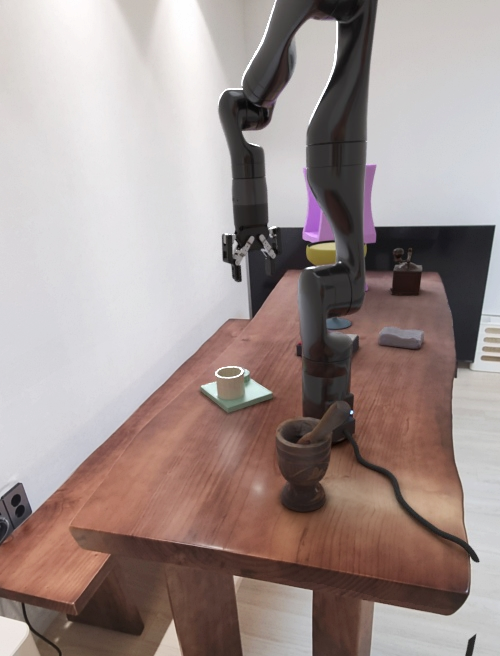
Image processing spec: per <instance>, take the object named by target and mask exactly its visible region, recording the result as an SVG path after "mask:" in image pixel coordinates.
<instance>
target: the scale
mask: <svg viewBox="0 0 500 656" xmlns="http://www.w3.org/2000/svg"><path fill="white" fill-rule="evenodd" d="M243 372H244V384H245V394H244V395H243V396H242V397H241V398H238V399H234V400H225V399H221V398H219V397H218V394H217V386H216V380H215V381H212V382H209V383H205V384H202V385H200V386H199V388H200V392H201V393H202V394H204V395H205V396H206V397H208V398H209V399H210V400H211V401H213V403H215V404H216V405H218V407H220V408H221V409H222V410H223V411H225V412H226V413H227V414H230V413H233V412H235V411H239V410H241V409H245V408H247V407H250V406H253V405H257V404H260V403H261V402H264V401H268V400H271V399H273V398H274V393H273V391H271V390H269V389H268V388H266V387H264V386H263V385H261V384H260V383H258V382H257V381H255V380H254V379H252V378H251V376H250V374H251V373H250V371H249V370H248V369H246V368H243Z"/></svg>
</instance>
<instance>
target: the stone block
mask: <svg viewBox="0 0 500 656" xmlns="http://www.w3.org/2000/svg"><path fill="white" fill-rule="evenodd" d="M424 339H425V331H423V330H421V329H414V328H412V329H411V328H410V329H409V328H408V329H402V328H398V327H395V326H389V325H388V326H387V325H386V326H385V327H383V328H382V329H381V330H380V331H379V334H378V344H379V345H380V346H385V347H393V348H394V347H395V348H403V349H409V350H419V349H420V348H421V347H422V344H423V342H424Z"/></svg>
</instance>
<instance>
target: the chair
mask: <svg viewBox="0 0 500 656" xmlns="http://www.w3.org/2000/svg"><path fill="white" fill-rule="evenodd" d="M376 170H377V164H375V163H366V174H365V189H364V243H366V244H375V243H376V244H377V242H376V241H377V231H376V228H375V223H374V217H373V211H372V192H373V186H374V180H375V174H376ZM302 173H303V177H304V182H305V187H306V193H307V195H306V196H307V207H306V209H307V210H306V216H305V221H304V224H303V229H302V240H304V241H307V242H310V243H314V242H319V241H327V240H334V235H333V232H332V229H331V226H330V224H329V222H328V220H327V218H326V217H325V215H324V213H323V212H322V210H321V208H320V207H319V205H318V203H317V202H316V200H315V198H314V196H313V194H312V192H311V190H310V188H309V185H308V182H307V177H306V166H304V167H302ZM367 291H369V285H368V284H367V282H366V286H365V292H367Z"/></svg>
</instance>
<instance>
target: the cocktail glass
mask: <svg viewBox="0 0 500 656" xmlns="http://www.w3.org/2000/svg"><path fill="white" fill-rule="evenodd" d="M367 249H368V247H367V243H364V254H365V257H366V256H367ZM305 250H306V251H305V253H306V258H307V260H308V261H309V262H310V263H311V264H312V265H313V266H319V265H326V264H333V263H336V247H335V240H327V241H319V242H314V243H312V242H310V243H308V244H307V245H306V249H305ZM326 321H327V329H328V330H343V329H346V328H349V327H351V325H352V322H351V320H349V319H346V318H343V317H337V318H331V319H327V320H326Z"/></svg>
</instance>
